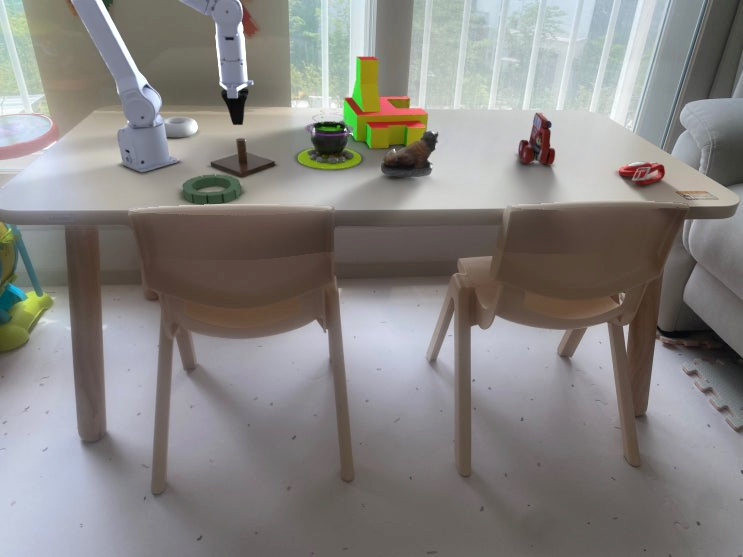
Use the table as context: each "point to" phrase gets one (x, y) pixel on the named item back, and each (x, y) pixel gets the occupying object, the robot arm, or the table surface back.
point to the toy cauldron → (329, 146)
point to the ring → (211, 197)
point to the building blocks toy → (380, 111)
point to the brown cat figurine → (411, 158)
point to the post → (242, 161)
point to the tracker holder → (643, 171)
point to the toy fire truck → (538, 142)
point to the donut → (179, 127)
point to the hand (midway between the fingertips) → (238, 124)
